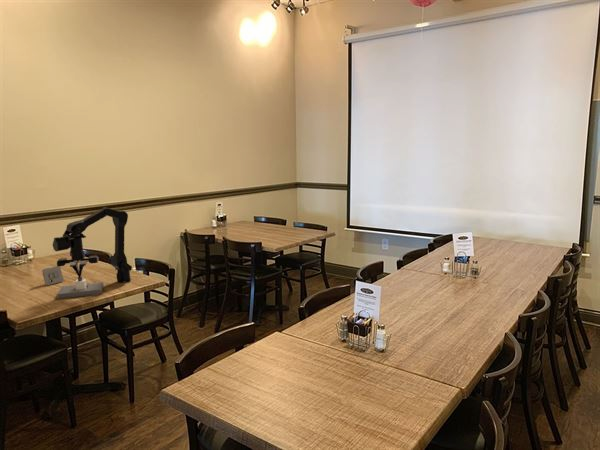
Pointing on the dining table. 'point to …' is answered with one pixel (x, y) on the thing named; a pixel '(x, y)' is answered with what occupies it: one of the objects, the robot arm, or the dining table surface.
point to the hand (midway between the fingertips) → (79, 276)
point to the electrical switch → (52, 275)
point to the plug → (80, 283)
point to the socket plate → (72, 292)
